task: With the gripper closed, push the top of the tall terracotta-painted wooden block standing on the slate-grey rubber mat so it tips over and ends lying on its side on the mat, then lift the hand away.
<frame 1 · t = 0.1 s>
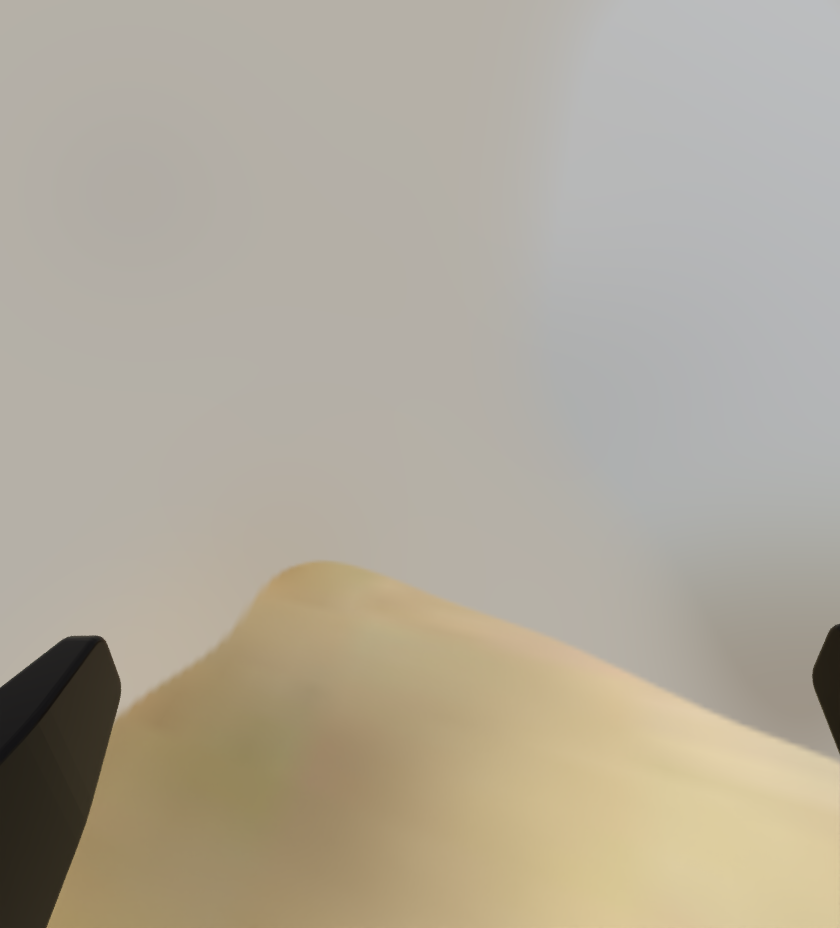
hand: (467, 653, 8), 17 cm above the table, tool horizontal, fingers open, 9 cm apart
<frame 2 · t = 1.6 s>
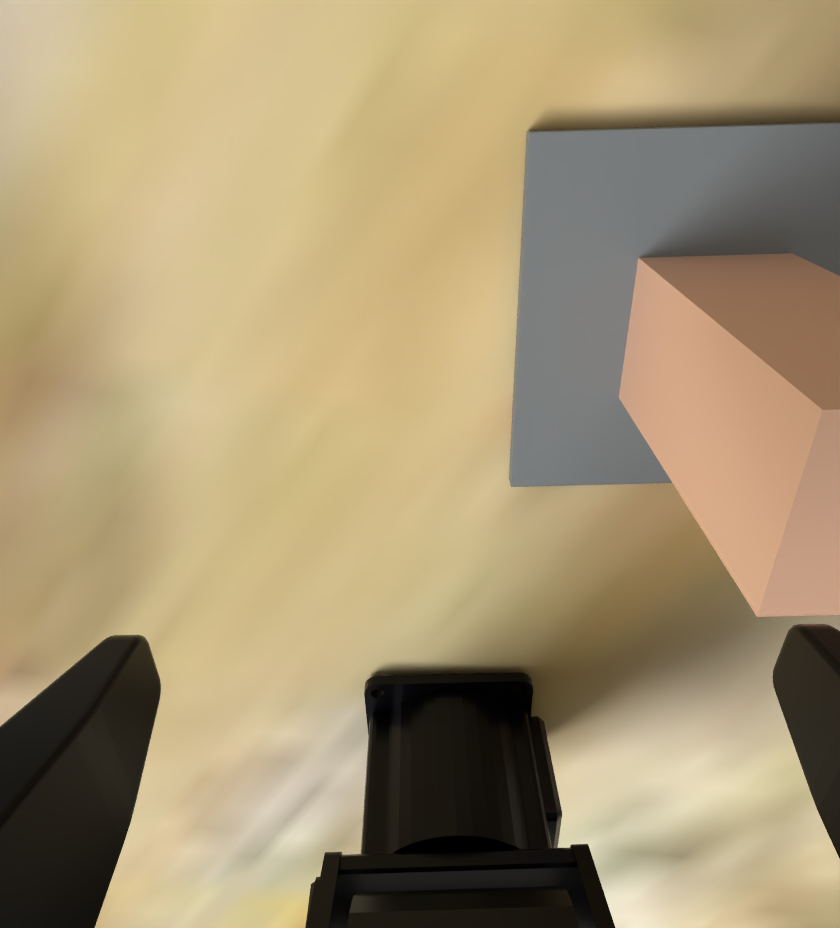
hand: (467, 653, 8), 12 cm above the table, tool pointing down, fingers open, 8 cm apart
terracotta block: (700, 329, 18), resting on slate mat
slate mat: (800, 320, 19), on the table
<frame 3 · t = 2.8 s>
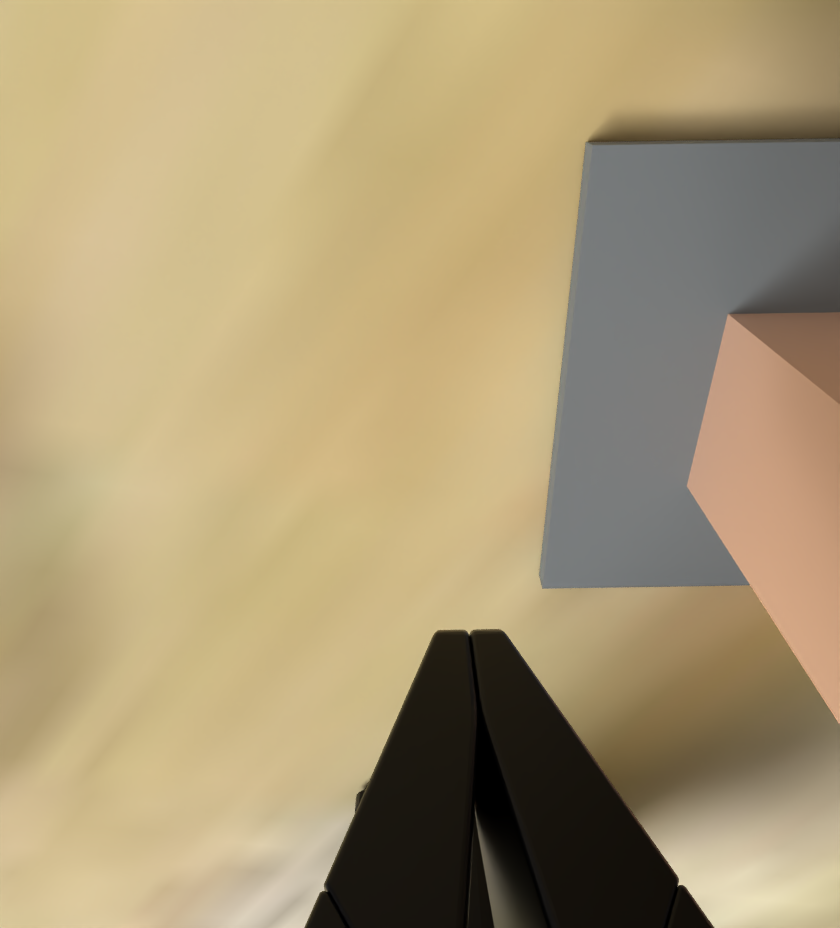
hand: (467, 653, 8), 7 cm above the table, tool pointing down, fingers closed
terracotta block: (801, 405, 14), resting on slate mat
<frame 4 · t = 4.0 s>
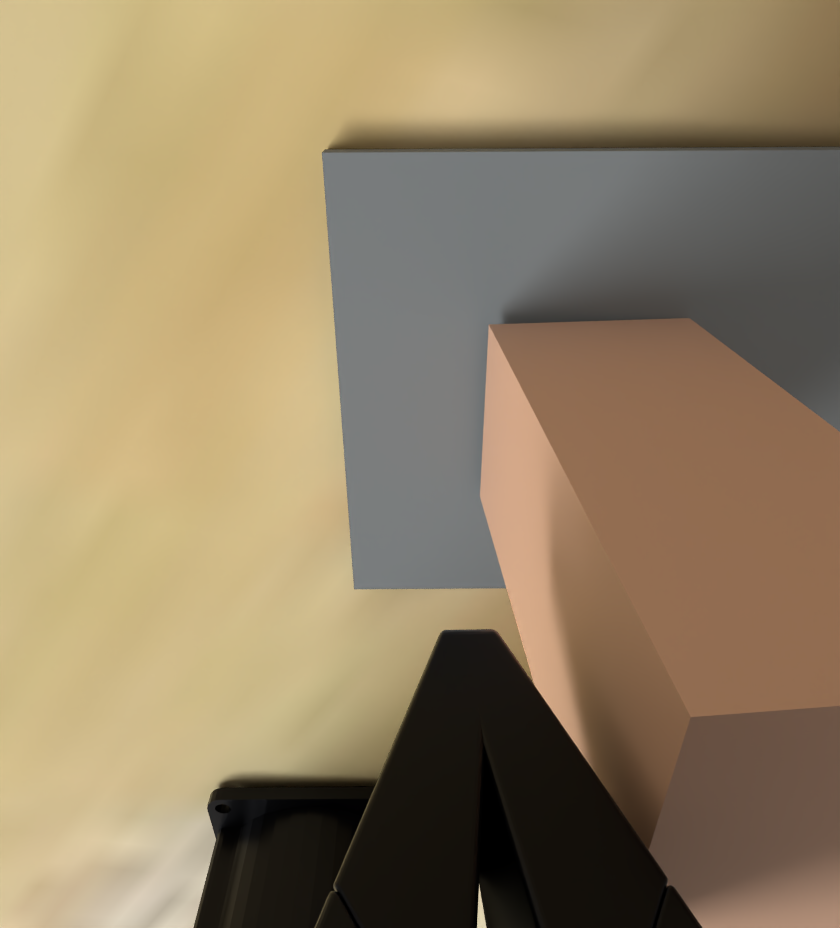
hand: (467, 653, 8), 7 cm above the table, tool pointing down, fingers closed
terracotta block: (577, 412, 14), point 1 cm above the table, touching gripper, slate mat
slate mat: (708, 398, 14), on the table
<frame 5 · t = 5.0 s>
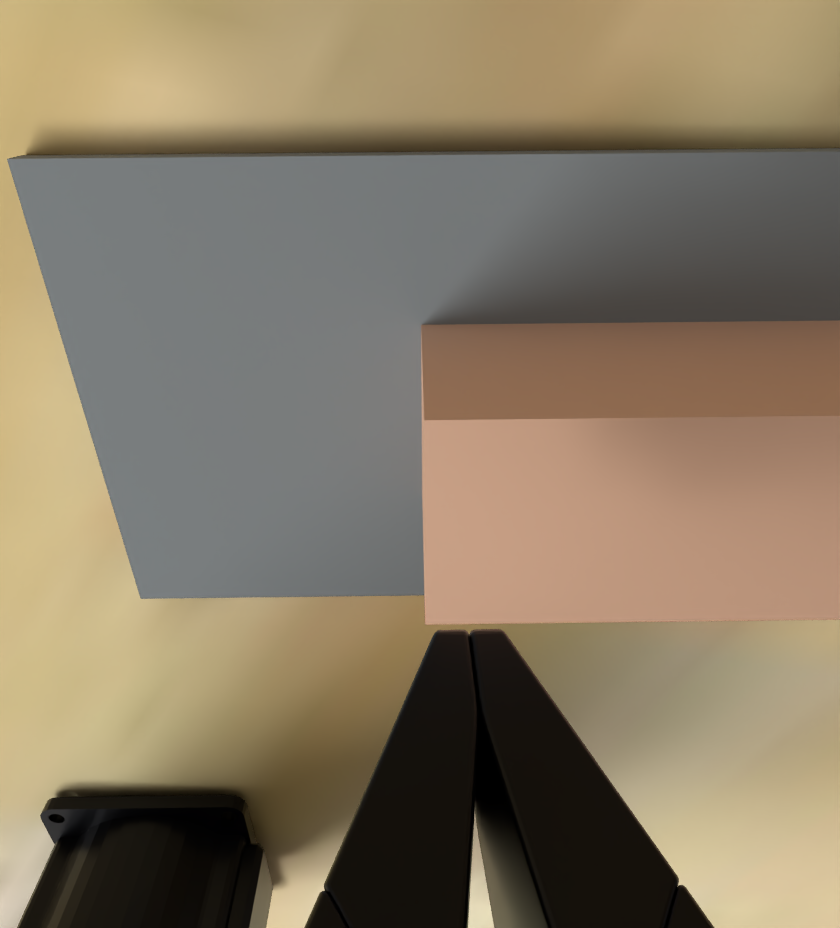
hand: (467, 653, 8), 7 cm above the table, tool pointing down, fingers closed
terracotta block: (422, 466, 12), point 2 cm above the table, tilted 90°, touching slate mat
slate mat: (466, 405, 14), on the table
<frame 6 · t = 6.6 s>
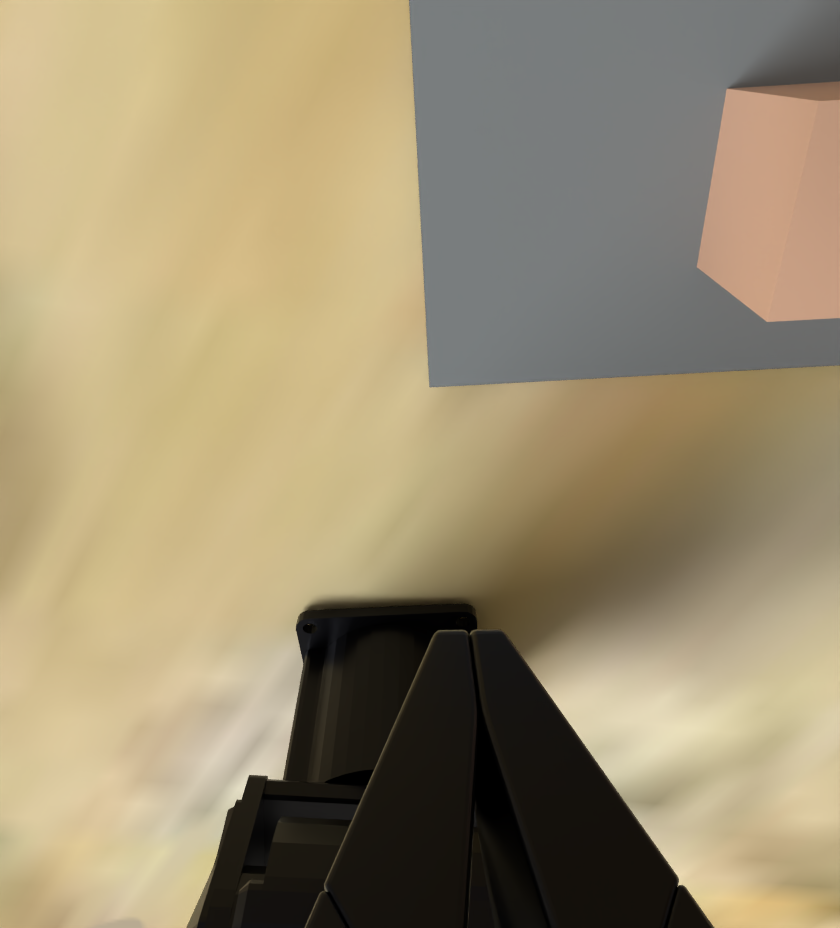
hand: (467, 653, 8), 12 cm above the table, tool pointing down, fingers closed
terracotta block: (746, 200, 14), point 2 cm above the table, tilted 90°, touching slate mat
slate mat: (742, 177, 16), on the table
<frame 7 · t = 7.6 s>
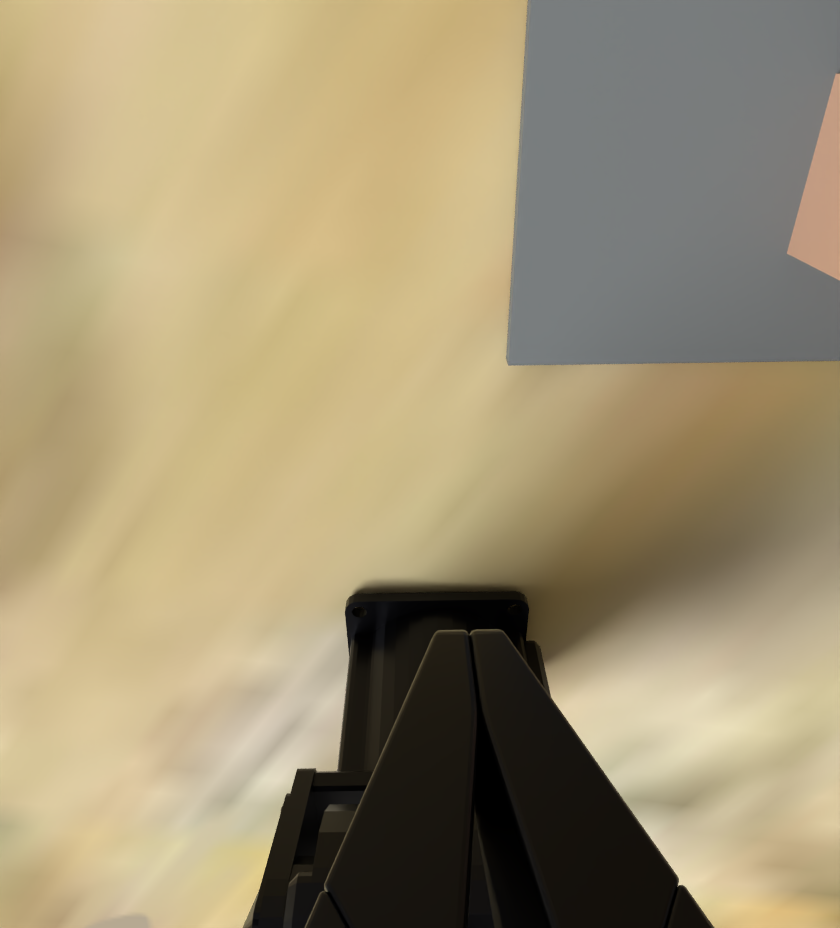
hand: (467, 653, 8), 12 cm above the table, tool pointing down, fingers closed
slate mat: (838, 166, 16), on the table
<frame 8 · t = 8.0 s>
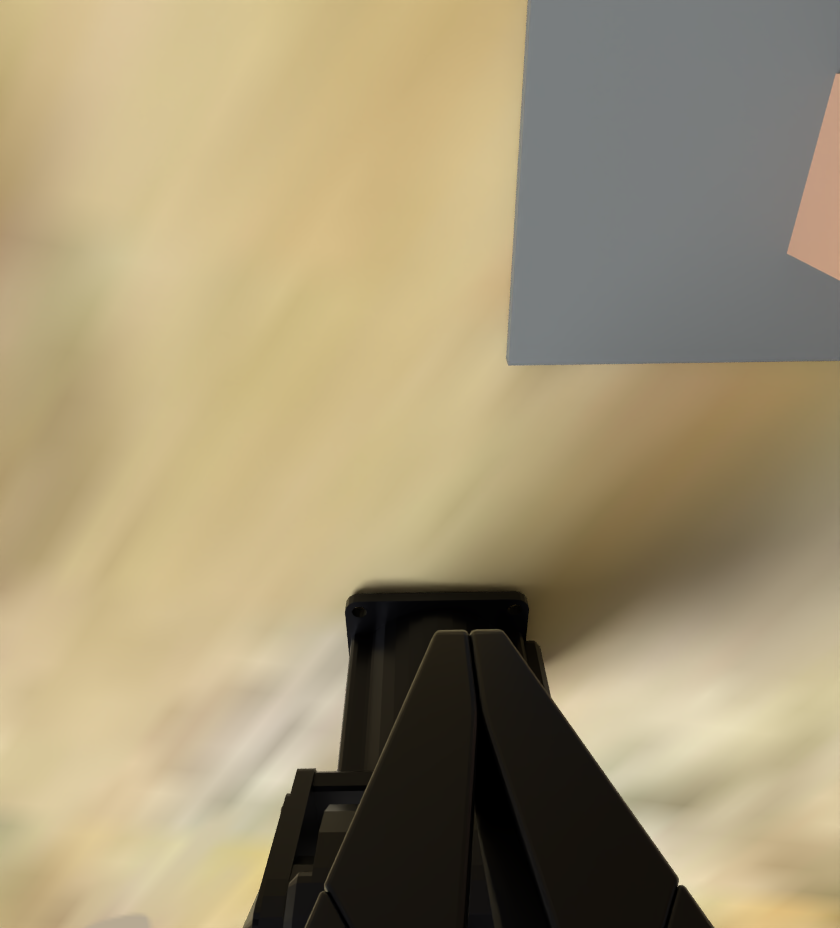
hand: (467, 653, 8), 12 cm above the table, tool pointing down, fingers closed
slate mat: (838, 166, 16), on the table
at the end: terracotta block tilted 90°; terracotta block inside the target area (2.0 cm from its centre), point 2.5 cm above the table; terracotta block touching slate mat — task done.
